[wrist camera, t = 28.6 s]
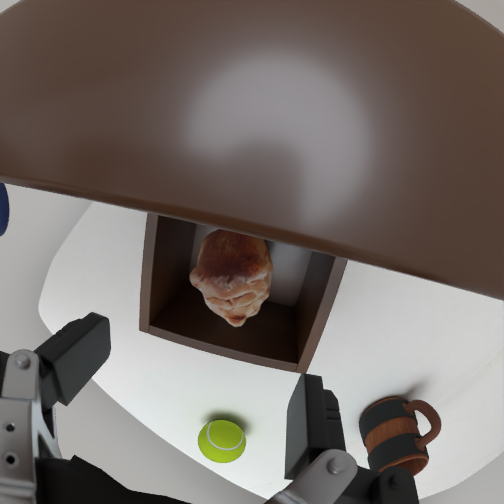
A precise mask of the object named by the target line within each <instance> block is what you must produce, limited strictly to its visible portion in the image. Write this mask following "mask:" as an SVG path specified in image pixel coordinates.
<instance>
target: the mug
mask: <svg viewBox="0 0 504 504" xmlns="http://www.w3.org/2000/svg"><path fill="white" fill-rule="evenodd" d="M414 410H418V411H419V412H421V413H422V414H423V415H424V416H425V417H426V418H427V419H428V421H429V422H430V424H431V430H430V431H429V432H428V433H427V434H425V435H424V436H421V435H420V433H419V430H418V427H417V426H418V422H417V419H416V415H415V412H414ZM359 429H360V433H361V437H362V440H363V443H364V446H365V447H366V448H367V452H368V463H369V467H370V470H374V471H378V472H382V471H383V470H384V469H385V468H387V467H389V466H401V467H404V468H406V469H407V470H409V471H410V472H411V474H412V475H413V476H415V475H416V474H418V473H419V472H420V471H422V470H423V469H424V468H425V467H426V465H427V464H428V460H429V455H428V452H427V448H426V445H427V444H428V443H429V442H431V441H432V440H434V439H435V438H436V437H437V435H438V434H439V432H440V430H441V419H440V417H439V415H438V413H437V412H436V411H435V409H434V408H433V407H432V406H430V405H429V404H428V403H426V402H425V401H422V400H413V401H411V402H408V401H407V400H404V399H402V398H398V397H392V398H387V399H383V400H381V401H378V402H376V403H375V404H373V405H372V406H370V407H369V408H368V409H367V410H366V411H365V412H364V414H363V416H362V418H361V419H360V422H359Z"/></svg>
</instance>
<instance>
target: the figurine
mask: <svg viewBox="0 0 504 504" xmlns="http://www.w3.org/2000/svg"><path fill="white" fill-rule="evenodd" d="M273 271H274V269H273V263H272V261H271V257H270V253H269V250H268V247H267V245H266V242H265V241H264V239H261V238H257V237H253V236H248V235H244V234H240V233H235V232H231V231H227V230H222V229H217V230H215V231H213V232H211V233H210V234H208V235H207V236H206V237H205V238H204V240H203V242H202V244H201V249H200V253H199V257H198V262H197V267H196V268H194V269H193V270H192V272H191V273H190V281H191V283H192V285H193V286H195V287H196V288H198V289H199V290H200V291H201V292H202V293H203V296H204V299H205V303H206V304H207V306H208V307H209V308H210V309H211V310H213V312H214V313H216V314H218V315H220V316H221V317H223V318H224V319H226V320H227V321H228V323H229V324H231V325H233V326H234V327H237V326H242V325H243V323H244V322H245V321H246V318H248V317H251V316H253V315H256V314H257V313H258V311H259V310H260V307H261V303H262V302H263V301H264V300H265V299H266V298H267V297H268V296H269V289H270V285H271V280H272V276H273Z"/></svg>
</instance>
